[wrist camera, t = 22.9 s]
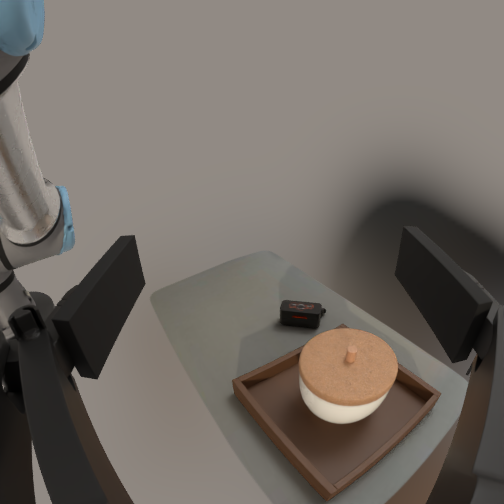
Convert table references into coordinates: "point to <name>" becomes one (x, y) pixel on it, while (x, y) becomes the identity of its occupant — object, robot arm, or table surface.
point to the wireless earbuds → (301, 314)
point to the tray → (326, 433)
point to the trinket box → (346, 374)
